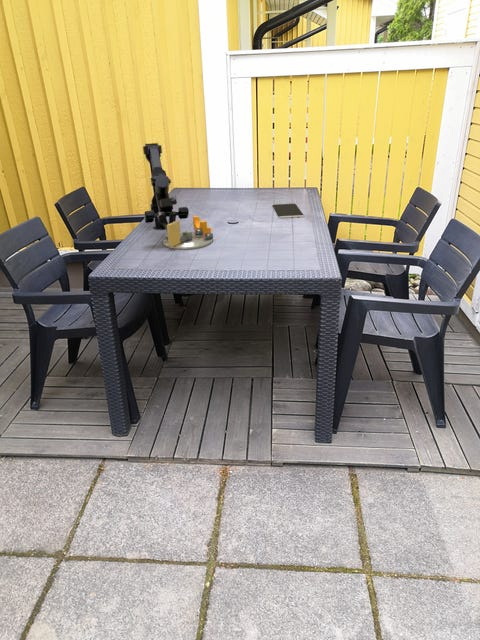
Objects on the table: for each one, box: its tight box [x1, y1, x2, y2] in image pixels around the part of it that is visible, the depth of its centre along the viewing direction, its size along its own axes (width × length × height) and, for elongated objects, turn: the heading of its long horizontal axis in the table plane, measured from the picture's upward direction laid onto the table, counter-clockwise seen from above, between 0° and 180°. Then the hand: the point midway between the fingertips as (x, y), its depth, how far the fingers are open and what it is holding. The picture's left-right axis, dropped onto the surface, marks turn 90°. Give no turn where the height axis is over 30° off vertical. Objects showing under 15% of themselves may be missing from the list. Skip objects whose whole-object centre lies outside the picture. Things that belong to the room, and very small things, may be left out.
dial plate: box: [162, 228, 214, 251], centre depth 214 cm, size 22×22×3 cm
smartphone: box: [272, 203, 305, 220], centre depth 257 cm, size 13×27×2 cm, turn 4°
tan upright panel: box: [166, 220, 193, 247], centre depth 208 cm, size 15×4×10 cm, turn 150°
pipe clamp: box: [192, 215, 212, 234], centre depth 227 cm, size 12×4×6 cm, turn 24°
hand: (170, 232), depth 204 cm, fingers closed
